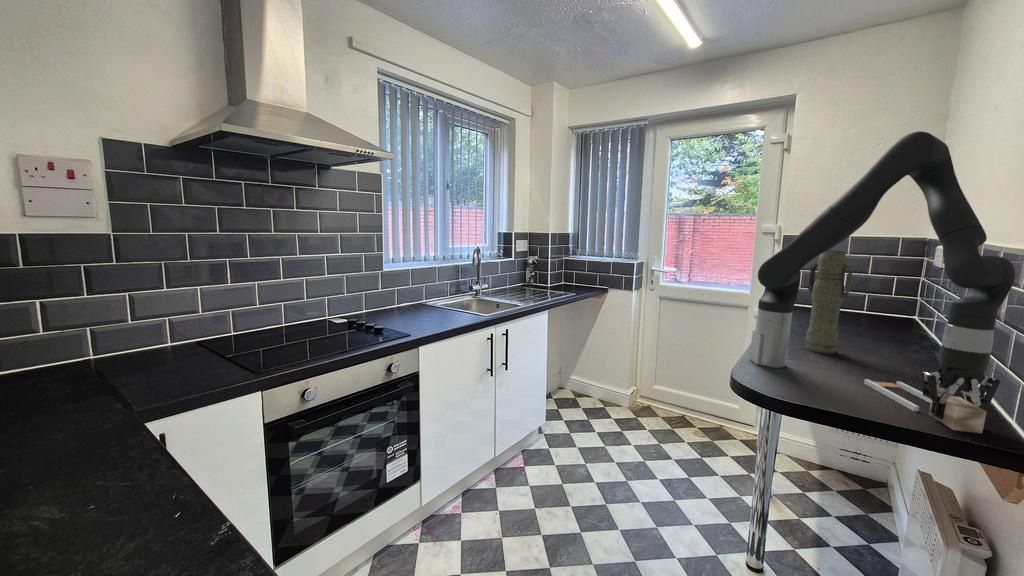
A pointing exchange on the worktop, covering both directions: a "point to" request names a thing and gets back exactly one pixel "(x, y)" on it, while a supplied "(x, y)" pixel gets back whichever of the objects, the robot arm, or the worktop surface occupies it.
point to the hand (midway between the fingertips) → (951, 418)
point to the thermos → (827, 301)
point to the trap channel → (906, 403)
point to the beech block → (962, 415)
